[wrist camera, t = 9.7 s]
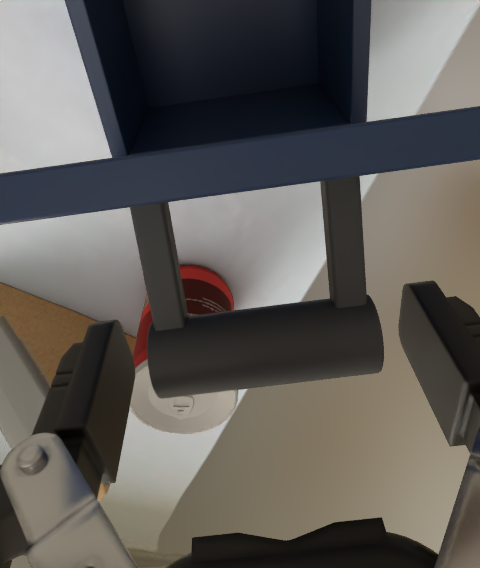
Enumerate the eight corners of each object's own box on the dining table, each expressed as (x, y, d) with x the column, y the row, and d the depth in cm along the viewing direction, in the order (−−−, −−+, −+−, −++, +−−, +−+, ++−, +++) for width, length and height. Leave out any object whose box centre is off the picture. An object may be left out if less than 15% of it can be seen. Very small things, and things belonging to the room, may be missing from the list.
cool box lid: (-151, 194, 7) (-48, 474, 9) (650, 82, 7) (615, 398, 8) (112, 167, 22) (134, 272, 24) (368, 131, 22) (374, 241, 23)
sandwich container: (-34, 266, 36) (-158, 420, 24) (140, 337, 42) (109, 492, 30) (-58, 334, 41) (-174, 495, 28) (103, 391, 46) (63, 547, 34)
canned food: (159, 339, 42) (144, 442, 33) (133, 270, 37) (108, 367, 28) (240, 326, 42) (247, 427, 33) (224, 254, 37) (227, 349, 28)
